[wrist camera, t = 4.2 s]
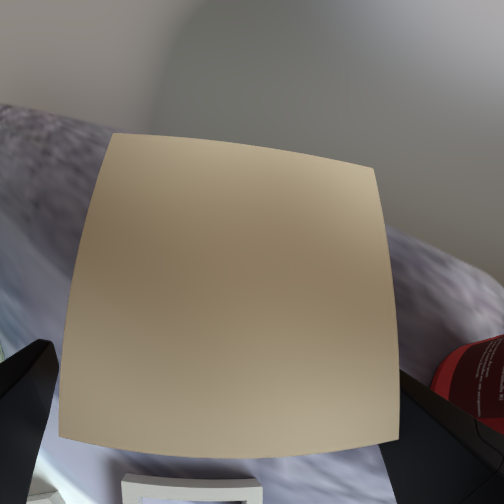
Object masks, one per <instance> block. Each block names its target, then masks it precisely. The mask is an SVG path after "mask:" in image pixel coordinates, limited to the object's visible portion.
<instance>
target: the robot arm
mask: <svg viewBox="0 0 504 504" xmlns="http://www.w3.org/2000/svg"><path fill="white" fill-rule="evenodd" d="M58 372H59V363H58V359H57V355H56V352H55V348H54V345H53V343H52V342H51V341H49V340H44V339H38V340H36V341H34V342H33V343H31V344H29V345H28V346H26V347H25V348H23V349H21V350H20V351H18V352H17V353H15V354H14V355H12V356H11V357H9V358H7V359H6V360H4V361H3V362H1V363H0V504H26V503H27V498H28V493H29V488H30V484H31V479H32V475H33V471H34V467H35V463H36V459H37V455H38V452H39V448H40V444H41V441H42V438H43V434H44V431H45V427H46V424H47V421H48V417H49V413H50V408H51V403H52V399H53V394H54V389H55V385H56V381H57V376H58ZM399 384H400V409H399V439H398V440H393V441H389V442H384V443H380V444H378V445H379V448H380V451H381V454H382V457H383V460H384V463H385V466H386V469H387V472H388V476H389V479H390V482H391V485H392V488H393V492H394V495H395V498H396V502H397V504H504V435H503V434H501V433H499V432H497V431H495V430H493V429H492V428H490V427H489V426H487V425H485V424H484V423H482V422H480V421H479V420H477V419H476V418H473V416H471V415H470V414H468V413H466V412H465V411H463V410H462V409H460V408H459V407H457V406H456V405H454V404H452V403H451V402H449V401H448V400H446V399H445V398H443V397H442V396H440V395H439V394H437V393H436V392H434V391H432V390H431V389H429V388H428V387H426V386H425V385H423V384H422V383H420V382H419V381H417V380H416V379H414V378H413V377H411V376H410V375H408V374H407V373H405V372H403V371H402V370H400V369H399Z"/></svg>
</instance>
